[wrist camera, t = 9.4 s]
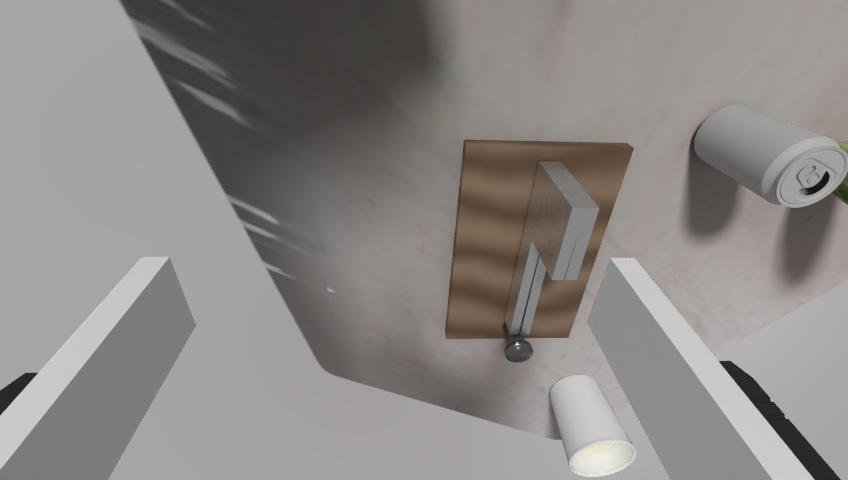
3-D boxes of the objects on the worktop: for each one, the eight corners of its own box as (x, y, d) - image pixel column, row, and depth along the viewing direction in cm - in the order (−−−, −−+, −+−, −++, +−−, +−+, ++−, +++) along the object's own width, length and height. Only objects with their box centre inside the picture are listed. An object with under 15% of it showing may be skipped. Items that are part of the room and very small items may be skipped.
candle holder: (567, 364, 65) (598, 436, 55) (614, 379, 68) (651, 449, 58) (533, 399, 70) (555, 470, 60) (578, 411, 72) (606, 481, 62)
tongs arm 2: (523, 317, 56) (544, 378, 47) (514, 317, 56) (534, 379, 47) (560, 161, 43) (599, 208, 35) (549, 161, 43) (586, 208, 34)
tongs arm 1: (512, 317, 56) (532, 379, 47) (504, 317, 55) (522, 379, 47) (550, 161, 43) (586, 208, 34) (538, 161, 43) (572, 207, 34)
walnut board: (464, 139, 43) (466, 144, 42) (627, 143, 44) (633, 148, 43) (445, 331, 59) (446, 338, 58) (564, 329, 60) (568, 337, 59)
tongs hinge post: (520, 334, 58) (530, 362, 54) (496, 334, 58) (503, 363, 54) (525, 316, 56) (535, 344, 52) (499, 316, 56) (508, 344, 52)
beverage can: (705, 170, 46) (789, 224, 36) (678, 134, 44) (760, 183, 34) (760, 129, 44) (866, 176, 34) (735, 88, 41) (842, 126, 31)
